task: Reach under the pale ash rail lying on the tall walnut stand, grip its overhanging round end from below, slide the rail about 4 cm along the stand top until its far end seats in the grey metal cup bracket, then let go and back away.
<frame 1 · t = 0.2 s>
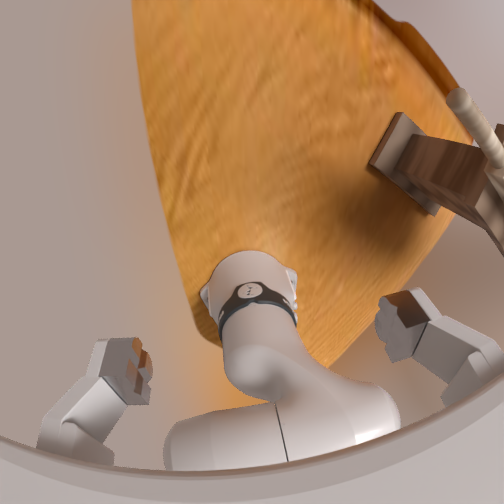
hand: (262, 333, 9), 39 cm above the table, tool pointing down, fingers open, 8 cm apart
walnut stand: (416, 165, 48), on the table
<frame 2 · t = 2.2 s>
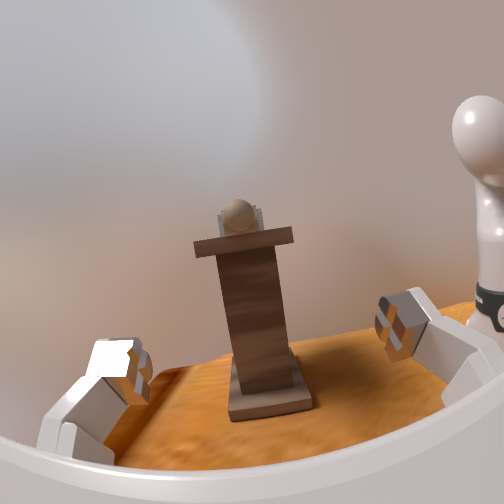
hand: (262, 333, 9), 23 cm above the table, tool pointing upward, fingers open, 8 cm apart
ash rail: (242, 234, 41), point 26 cm above the table, touching walnut stand
walnut stand: (266, 383, 46), on the table
cup bracket: (242, 234, 51), resting on walnut stand
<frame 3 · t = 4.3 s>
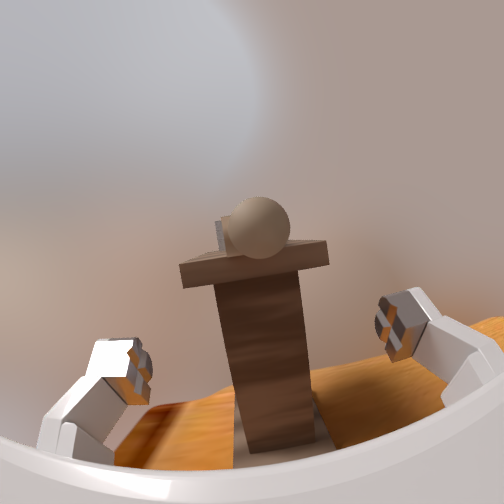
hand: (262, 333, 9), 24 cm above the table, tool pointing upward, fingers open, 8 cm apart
ash rail: (250, 249, 29), point 26 cm above the table, touching walnut stand
walnut stand: (278, 432, 34), on the table
cup bracket: (247, 246, 39), resting on walnut stand
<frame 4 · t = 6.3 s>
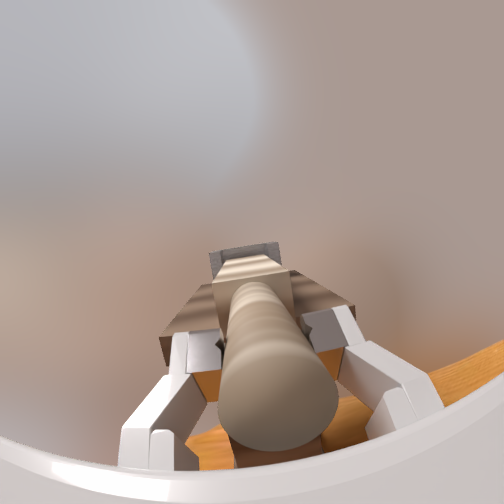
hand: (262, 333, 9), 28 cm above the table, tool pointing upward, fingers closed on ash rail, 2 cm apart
ash rail: (252, 300, 23), point 26 cm above the table, touching gripper, walnut stand
walnut stand: (282, 479, 27), on the table
cup bracket: (248, 281, 33), resting on walnut stand
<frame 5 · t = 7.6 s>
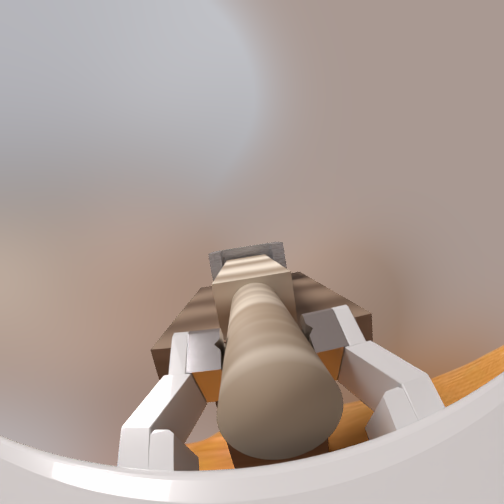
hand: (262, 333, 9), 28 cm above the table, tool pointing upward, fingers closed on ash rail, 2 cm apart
ash rail: (253, 301, 22), point 26 cm above the table, touching gripper, walnut stand
walnut stand: (286, 490, 25), on the table
cup bracket: (251, 283, 31), resting on walnut stand
when the fingers open (28 cm above the table, at t = 9.0 s): ash rail stays where it is, resting on walnut stand.
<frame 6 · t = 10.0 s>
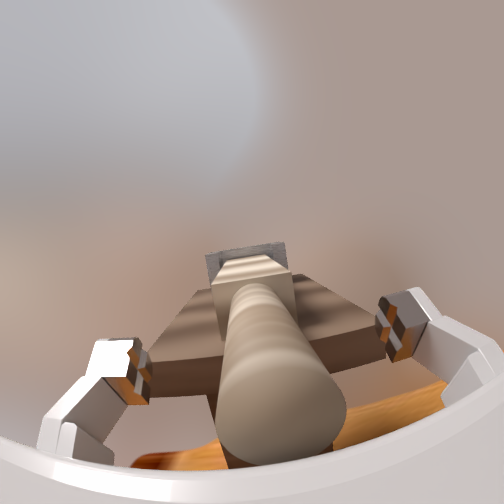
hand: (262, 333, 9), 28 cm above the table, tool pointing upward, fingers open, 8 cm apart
ash rail: (253, 301, 22), point 26 cm above the table, touching walnut stand
walnut stand: (286, 499, 24), on the table
cup bracket: (250, 286, 29), resting on walnut stand
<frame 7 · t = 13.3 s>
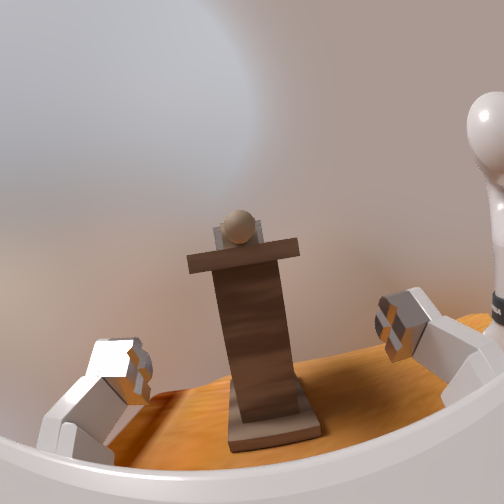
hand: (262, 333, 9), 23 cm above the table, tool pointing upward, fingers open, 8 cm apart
ash rail: (240, 248, 40), point 26 cm above the table, touching walnut stand
walnut stand: (268, 409, 40), on the table
cup bracket: (240, 248, 47), resting on walnut stand
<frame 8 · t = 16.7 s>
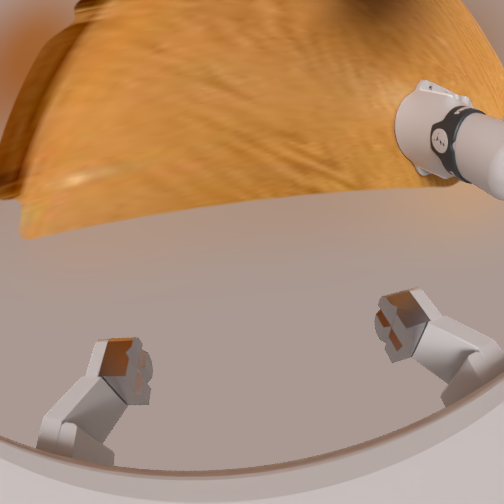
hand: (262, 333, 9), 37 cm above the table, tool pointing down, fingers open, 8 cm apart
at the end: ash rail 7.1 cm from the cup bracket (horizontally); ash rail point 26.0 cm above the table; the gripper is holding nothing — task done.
